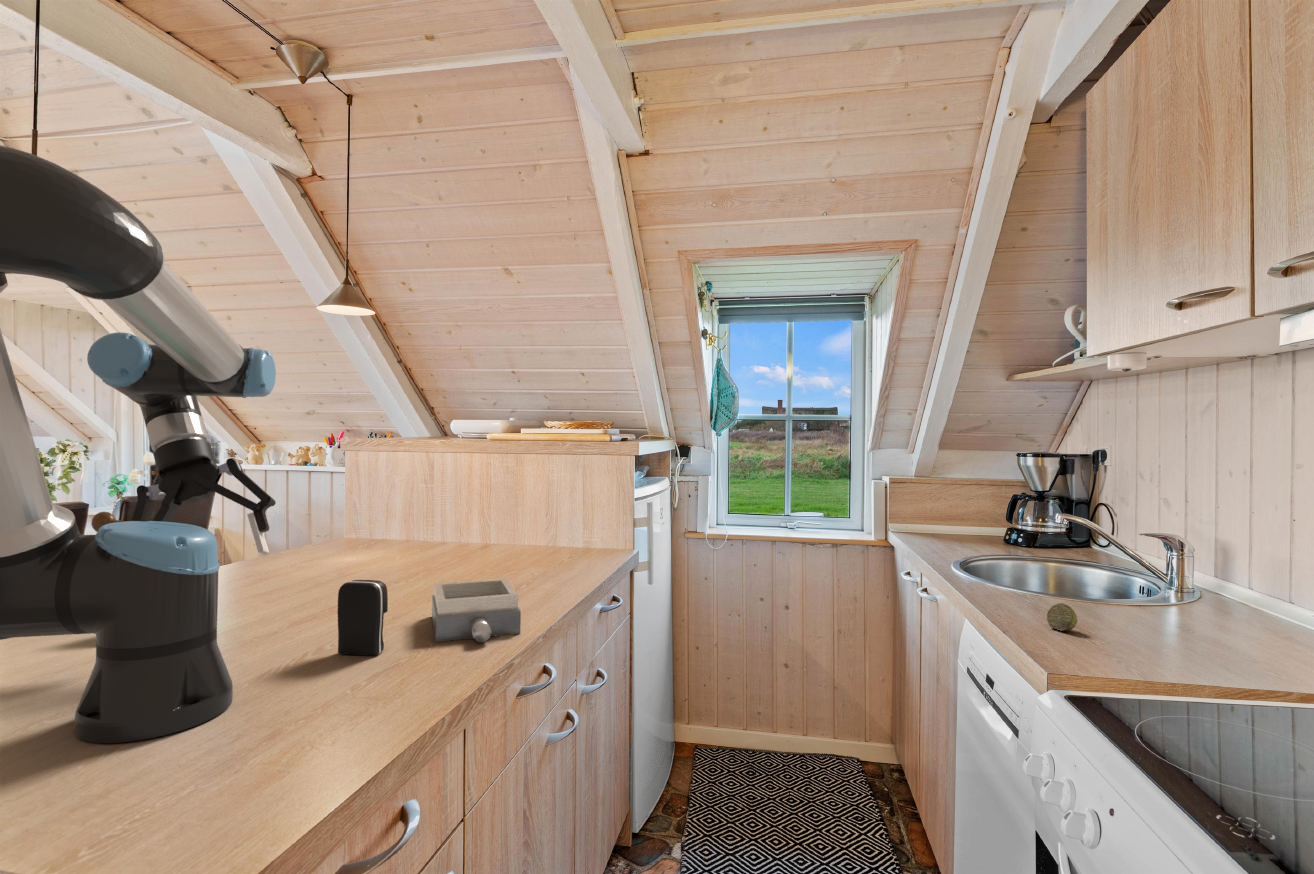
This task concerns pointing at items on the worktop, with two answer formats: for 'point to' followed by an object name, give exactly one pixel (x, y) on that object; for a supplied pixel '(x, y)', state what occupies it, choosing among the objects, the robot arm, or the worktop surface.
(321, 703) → the worktop surface
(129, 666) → the robot arm
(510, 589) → the grey drawer box
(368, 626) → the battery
